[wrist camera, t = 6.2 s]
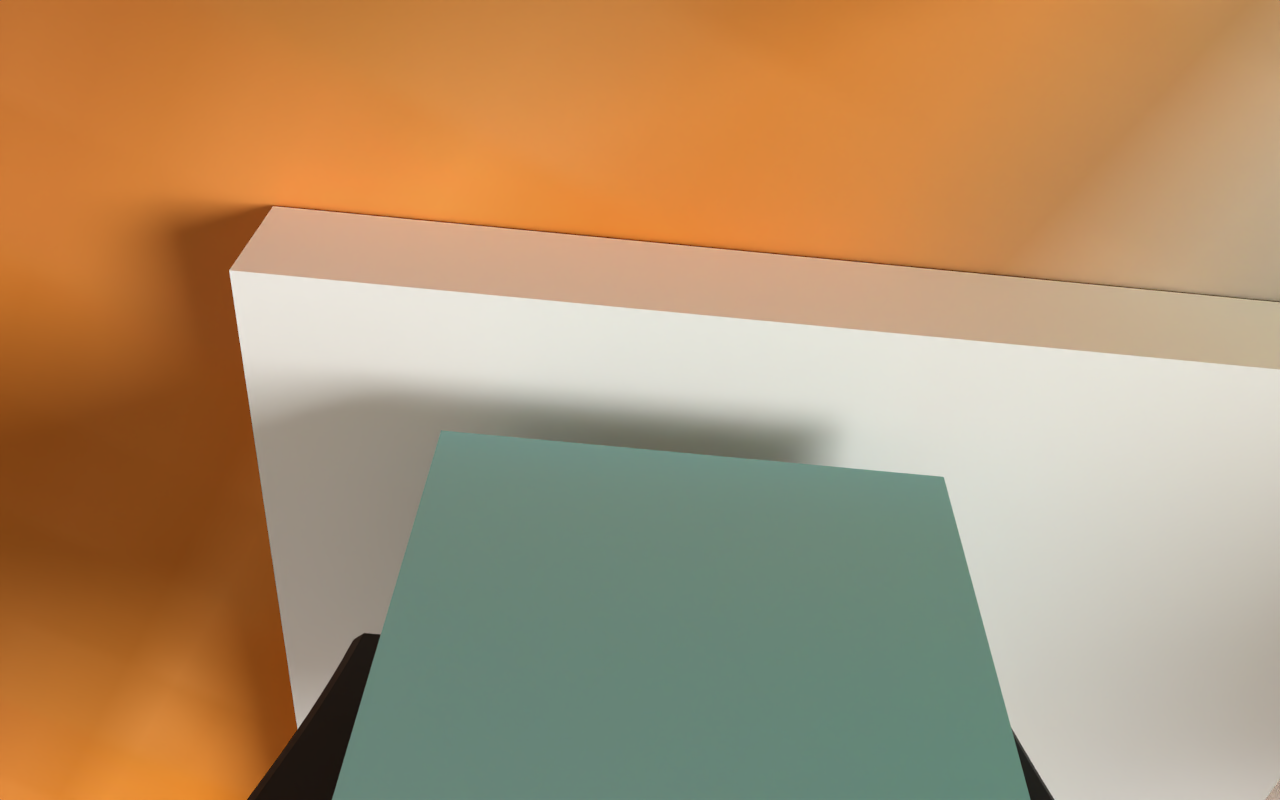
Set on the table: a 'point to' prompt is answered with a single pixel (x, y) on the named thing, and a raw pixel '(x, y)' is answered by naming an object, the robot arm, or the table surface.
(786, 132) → the table surface
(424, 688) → the teal rectangular block
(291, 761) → the robot arm
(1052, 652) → the post board
